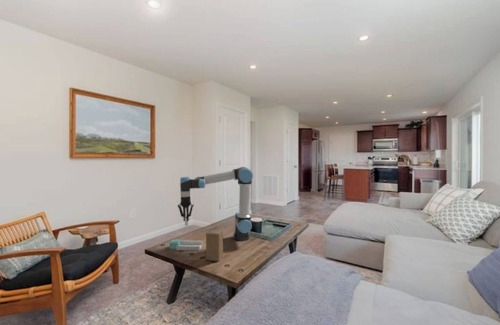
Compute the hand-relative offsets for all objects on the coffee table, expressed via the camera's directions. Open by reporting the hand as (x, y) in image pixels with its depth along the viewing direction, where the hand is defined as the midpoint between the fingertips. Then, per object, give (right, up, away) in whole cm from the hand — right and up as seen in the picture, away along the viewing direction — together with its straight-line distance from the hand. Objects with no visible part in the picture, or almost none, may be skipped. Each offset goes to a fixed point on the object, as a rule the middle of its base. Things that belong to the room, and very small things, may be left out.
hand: (186, 225), depth 184 cm
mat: (-10, -19, +1) cm, 21 cm away
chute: (+3, -19, +1) cm, 19 cm away
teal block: (-9, -18, +1) cm, 20 cm away
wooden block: (+26, -20, -17) cm, 37 cm away
